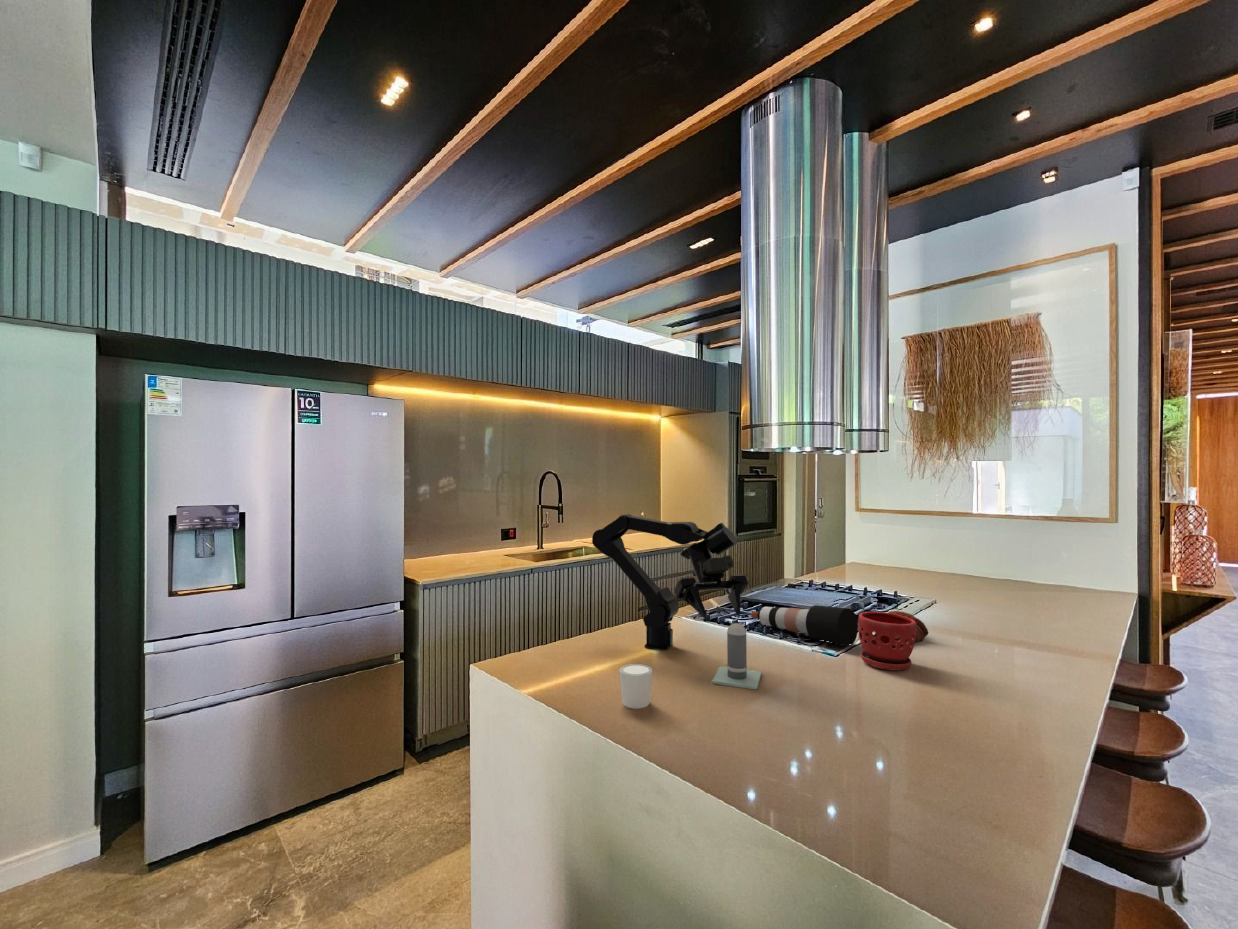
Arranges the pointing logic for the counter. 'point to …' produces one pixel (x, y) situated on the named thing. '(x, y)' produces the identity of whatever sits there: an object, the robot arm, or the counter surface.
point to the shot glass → (635, 685)
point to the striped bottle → (813, 622)
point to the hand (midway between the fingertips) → (722, 615)
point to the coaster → (748, 682)
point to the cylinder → (736, 652)
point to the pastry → (920, 627)
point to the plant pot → (886, 639)
